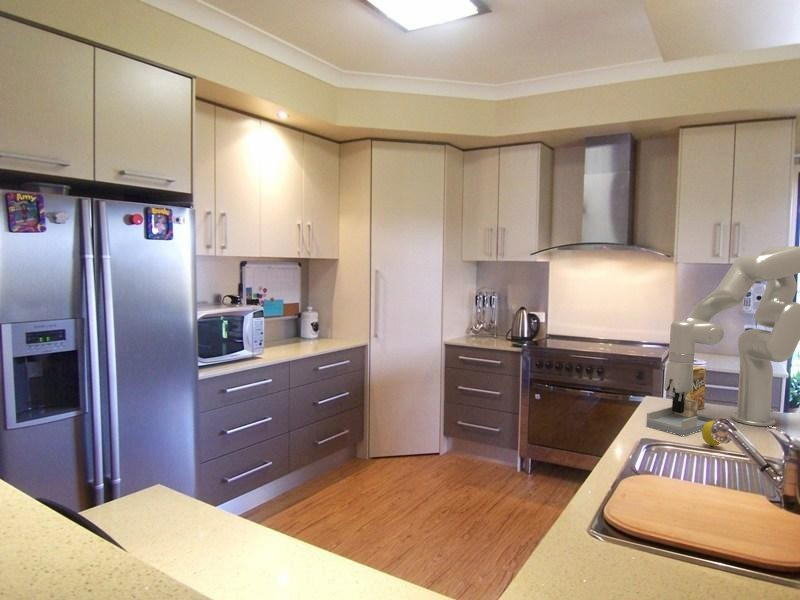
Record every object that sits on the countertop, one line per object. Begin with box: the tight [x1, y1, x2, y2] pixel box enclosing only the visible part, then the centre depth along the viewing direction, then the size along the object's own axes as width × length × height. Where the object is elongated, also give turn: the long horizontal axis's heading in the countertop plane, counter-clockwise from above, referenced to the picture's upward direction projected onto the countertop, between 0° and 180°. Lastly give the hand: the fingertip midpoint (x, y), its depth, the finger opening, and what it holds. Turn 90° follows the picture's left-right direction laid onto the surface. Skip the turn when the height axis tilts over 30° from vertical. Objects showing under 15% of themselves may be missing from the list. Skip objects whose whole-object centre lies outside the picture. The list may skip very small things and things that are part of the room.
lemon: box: [701, 420, 721, 447], centre depth 161 cm, size 6×6×8 cm
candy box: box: [686, 365, 707, 410], centre depth 203 cm, size 9×4×15 cm, turn 118°
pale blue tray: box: [646, 406, 719, 437], centre depth 182 cm, size 22×12×5 cm, turn 124°
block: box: [674, 399, 698, 418], centre depth 188 cm, size 5×5×5 cm
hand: (677, 411), depth 185 cm, fingers closed
